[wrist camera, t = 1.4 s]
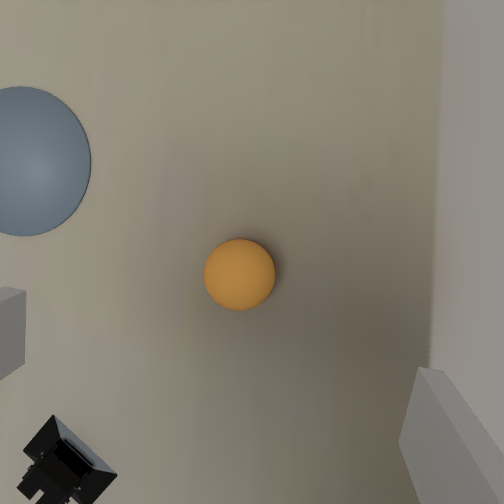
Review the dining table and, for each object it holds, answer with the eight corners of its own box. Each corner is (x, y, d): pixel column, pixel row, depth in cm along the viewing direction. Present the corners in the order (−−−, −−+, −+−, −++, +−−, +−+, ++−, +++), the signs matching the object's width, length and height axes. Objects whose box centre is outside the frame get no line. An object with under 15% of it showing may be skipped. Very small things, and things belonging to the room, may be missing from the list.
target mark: (113, 123, 33) (112, 123, 33) (57, 260, 35) (56, 260, 34) (-15, 63, 34) (-17, 62, 34) (-65, 198, 36) (-67, 198, 35)
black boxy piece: (4, 439, 37) (-37, 468, 33) (49, 385, 36) (13, 407, 32) (99, 529, 37) (71, 571, 32) (147, 477, 36) (125, 513, 31)
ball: (287, 255, 32) (285, 261, 27) (259, 314, 33) (252, 331, 27) (228, 227, 33) (214, 227, 27) (201, 285, 33) (183, 296, 28)
